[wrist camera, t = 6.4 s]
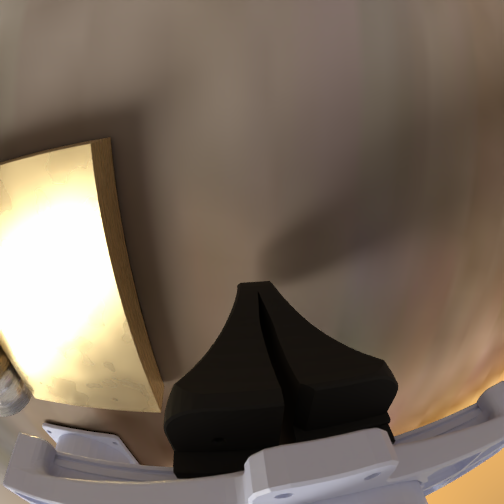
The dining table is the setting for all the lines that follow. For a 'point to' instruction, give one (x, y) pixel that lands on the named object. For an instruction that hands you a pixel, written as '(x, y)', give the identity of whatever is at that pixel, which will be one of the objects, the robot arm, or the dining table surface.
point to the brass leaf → (71, 283)
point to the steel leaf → (12, 392)
